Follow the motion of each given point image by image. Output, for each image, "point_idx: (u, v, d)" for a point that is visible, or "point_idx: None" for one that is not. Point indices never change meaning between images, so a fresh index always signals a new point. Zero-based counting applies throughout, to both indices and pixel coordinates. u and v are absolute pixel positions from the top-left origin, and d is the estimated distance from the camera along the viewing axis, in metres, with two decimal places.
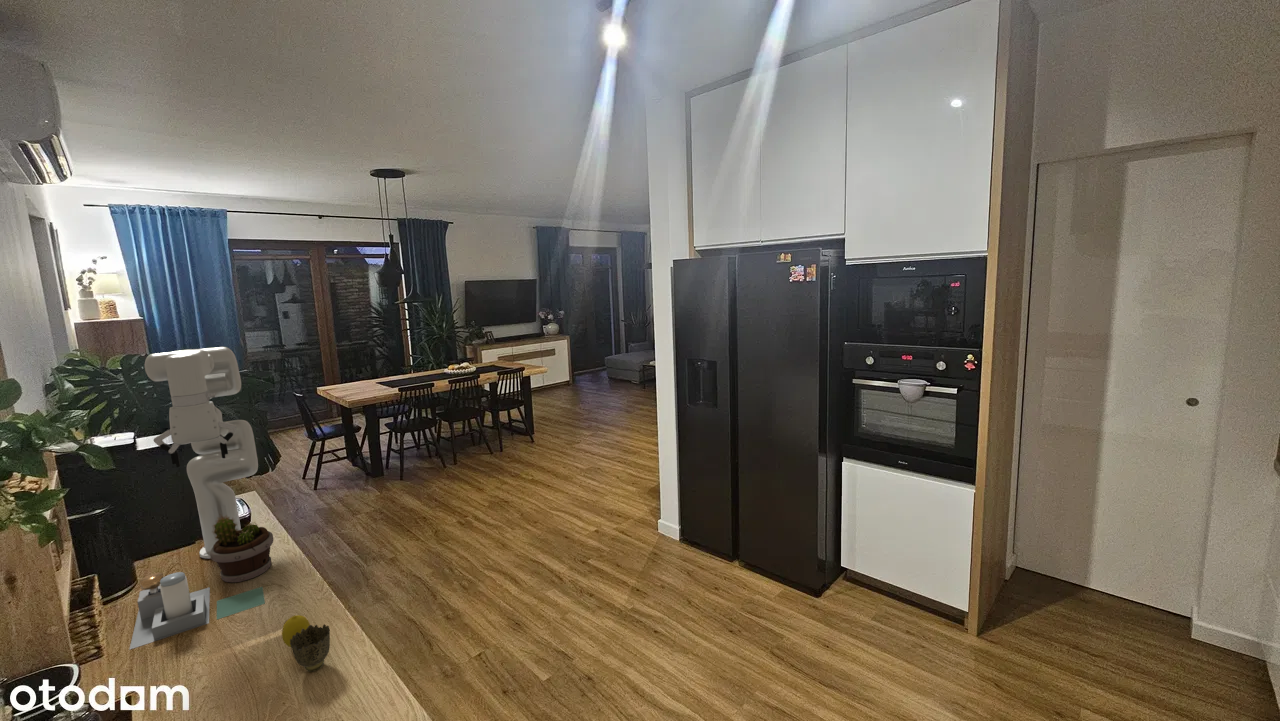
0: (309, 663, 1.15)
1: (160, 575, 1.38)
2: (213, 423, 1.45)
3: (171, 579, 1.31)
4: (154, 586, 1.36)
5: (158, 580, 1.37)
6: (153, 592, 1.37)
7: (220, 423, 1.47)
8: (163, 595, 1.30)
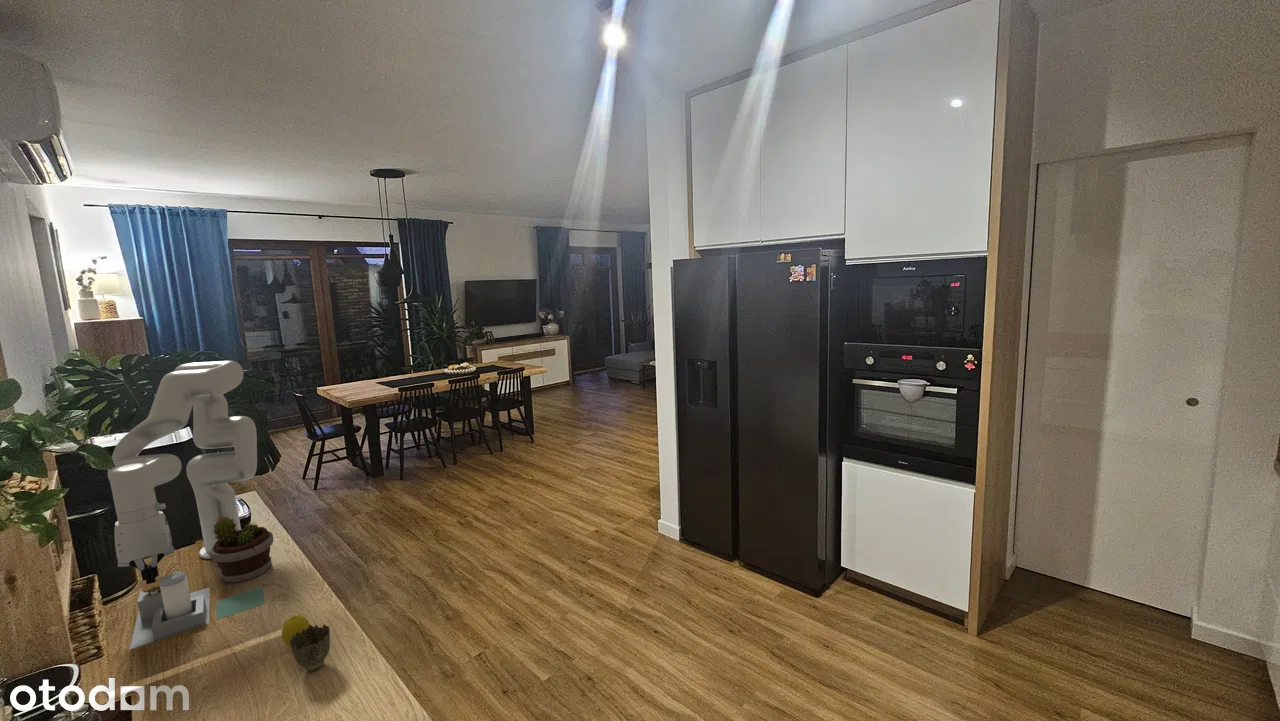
0: (309, 663, 1.15)
1: (161, 578, 1.38)
2: (162, 536, 1.36)
3: (171, 579, 1.31)
4: (155, 589, 1.36)
5: (159, 583, 1.37)
6: None
7: None
8: (163, 595, 1.30)
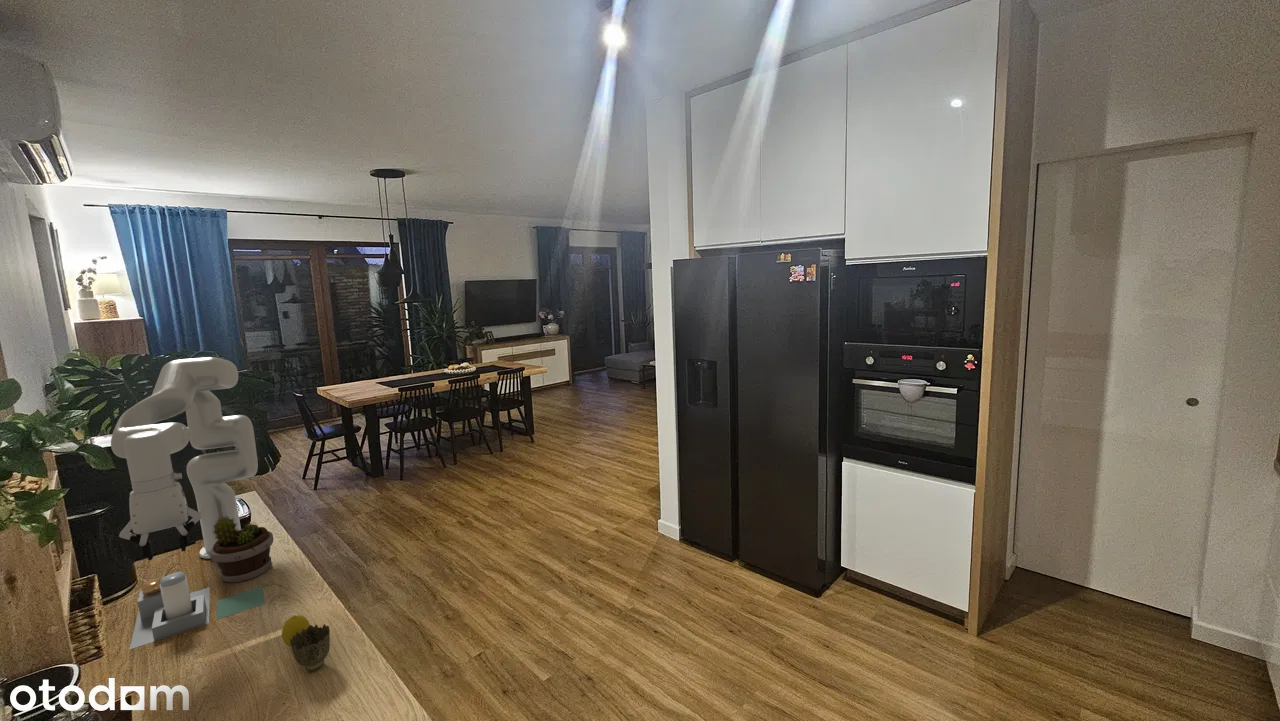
0: (309, 663, 1.15)
1: None
2: (179, 508, 1.29)
3: (171, 579, 1.31)
4: (155, 591, 1.36)
5: (159, 585, 1.37)
6: None
7: (186, 509, 1.31)
8: (163, 595, 1.30)
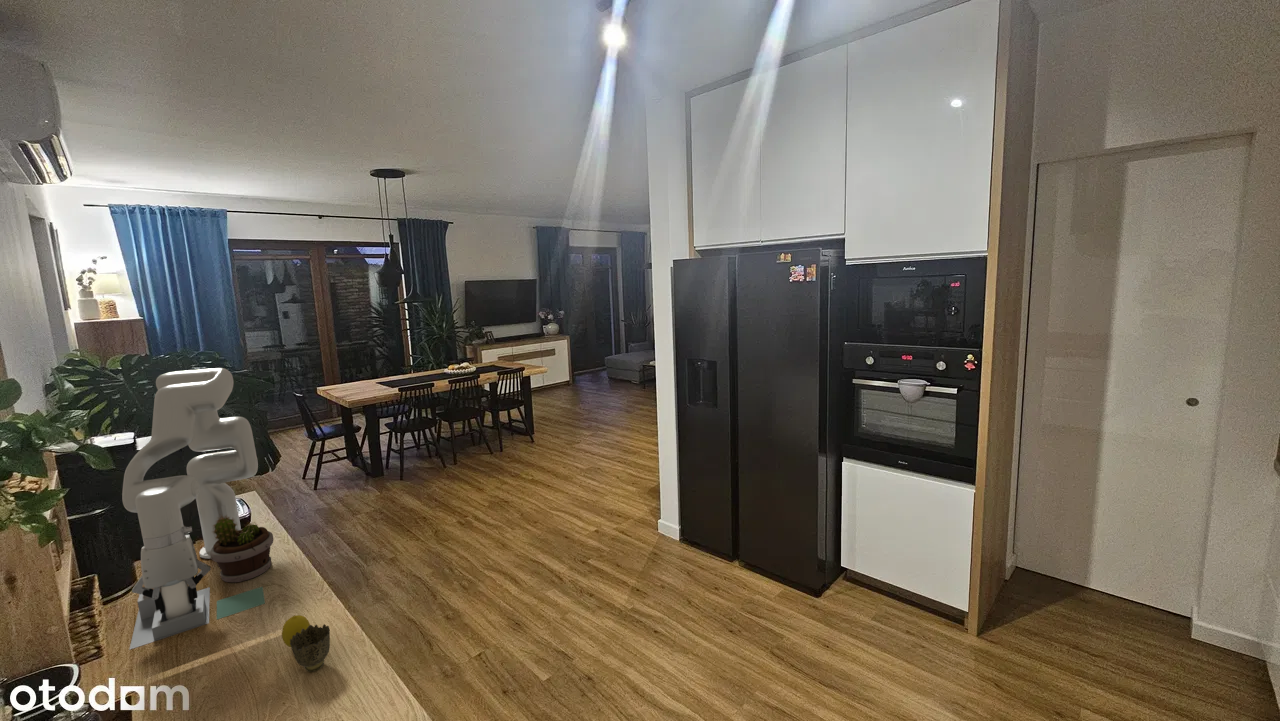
0: (309, 663, 1.15)
1: None
2: (190, 561, 1.32)
3: None
4: None
5: None
6: None
7: (196, 562, 1.34)
8: (163, 595, 1.30)
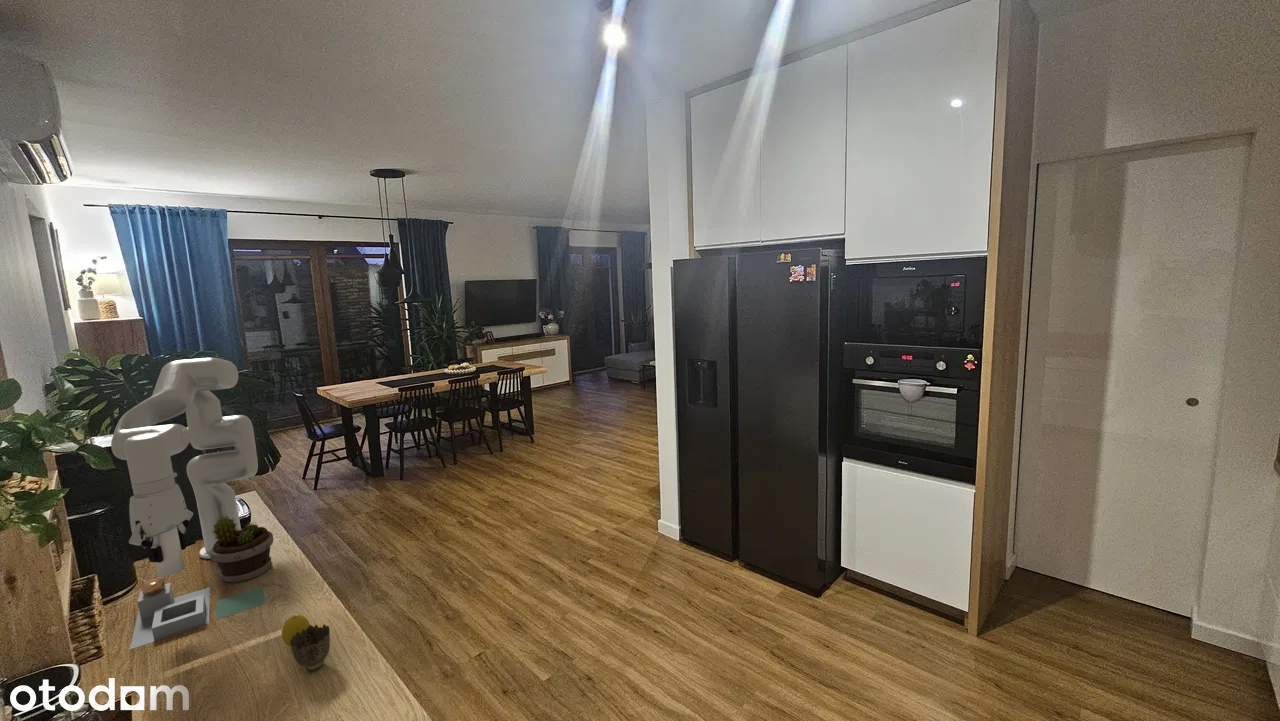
0: (309, 663, 1.15)
1: (161, 580, 1.39)
2: (183, 504, 1.32)
3: None
4: (155, 591, 1.36)
5: (159, 585, 1.37)
6: None
7: None
8: (160, 543, 1.28)
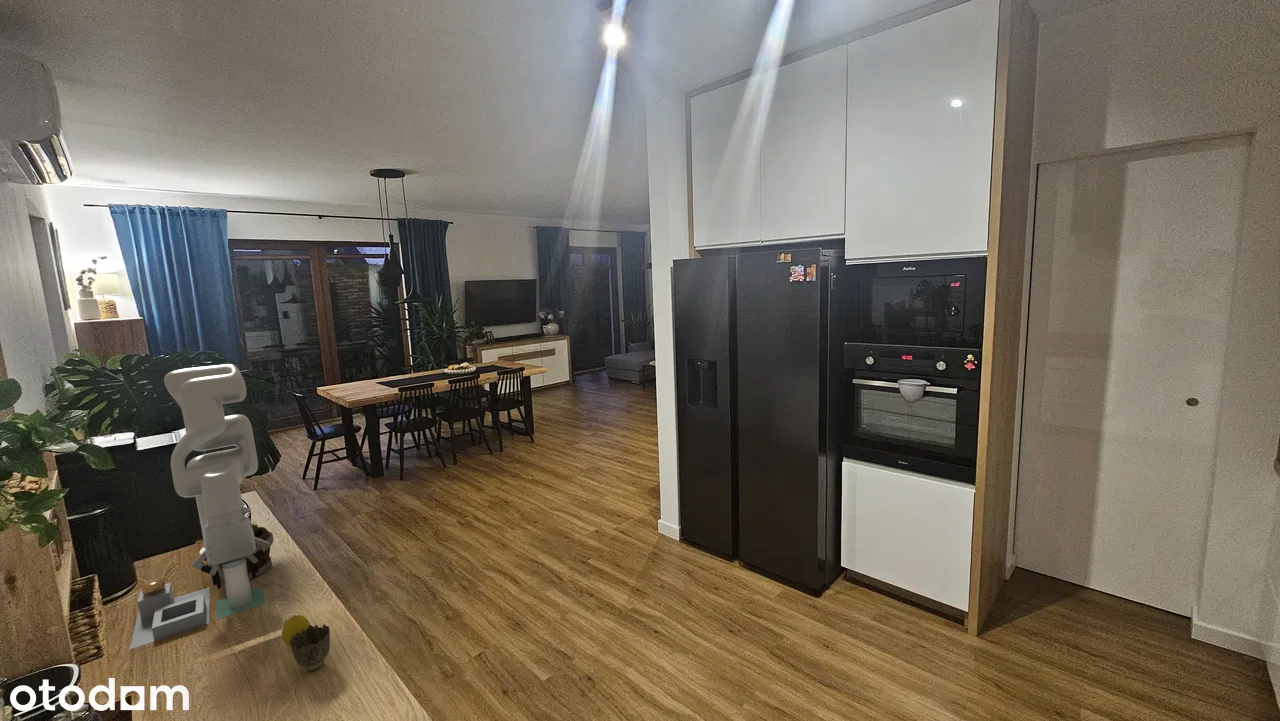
0: (309, 663, 1.15)
1: (161, 580, 1.39)
2: (249, 540, 1.39)
3: (232, 561, 1.38)
4: (155, 591, 1.36)
5: (159, 585, 1.37)
6: None
7: (255, 539, 1.41)
8: (225, 577, 1.37)
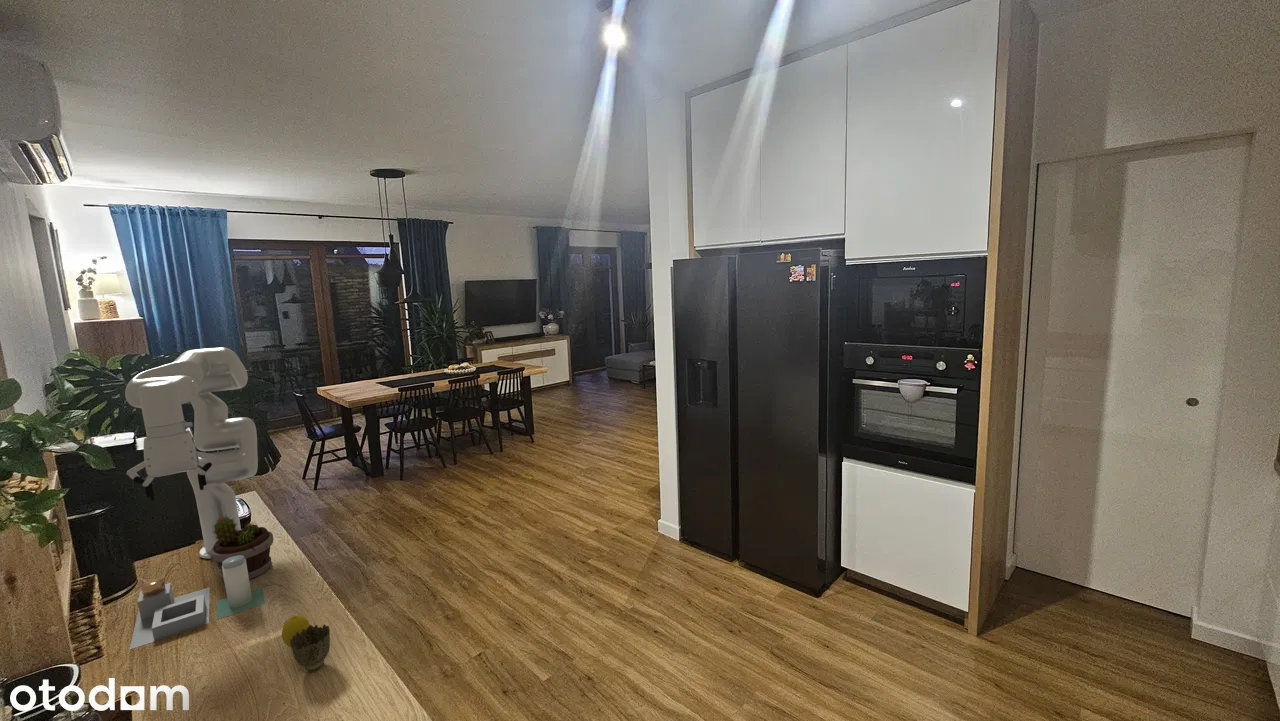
0: (309, 663, 1.15)
1: (161, 580, 1.39)
2: (190, 454, 1.38)
3: (232, 562, 1.38)
4: (155, 591, 1.36)
5: (159, 585, 1.37)
6: None
7: (198, 453, 1.40)
8: (225, 577, 1.37)
